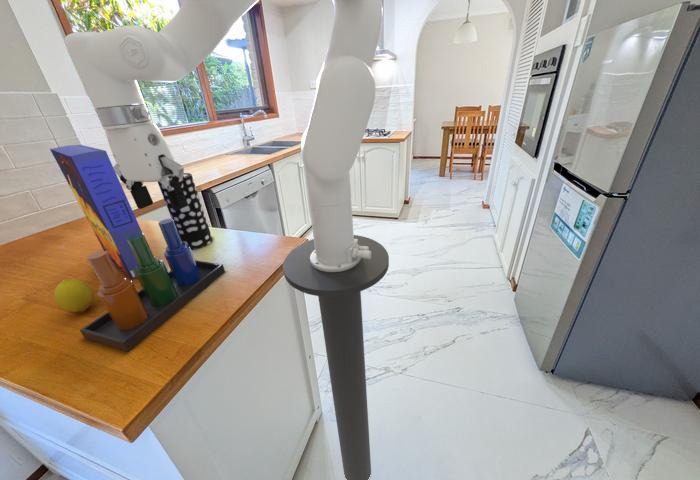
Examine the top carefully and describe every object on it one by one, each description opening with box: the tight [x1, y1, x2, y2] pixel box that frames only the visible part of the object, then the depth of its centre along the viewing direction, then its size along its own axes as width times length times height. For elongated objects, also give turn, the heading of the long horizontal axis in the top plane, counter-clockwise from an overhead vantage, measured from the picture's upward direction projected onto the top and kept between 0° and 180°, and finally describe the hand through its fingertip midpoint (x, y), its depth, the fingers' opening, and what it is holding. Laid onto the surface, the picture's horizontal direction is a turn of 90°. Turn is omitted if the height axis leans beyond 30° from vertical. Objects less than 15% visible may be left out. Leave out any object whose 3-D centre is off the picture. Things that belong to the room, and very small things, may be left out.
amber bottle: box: [86, 250, 149, 331], centre depth 53 cm, size 5×5×15 cm
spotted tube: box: [157, 172, 213, 250], centre depth 82 cm, size 8×8×20 cm
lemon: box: [53, 278, 95, 313], centre depth 59 cm, size 6×6×8 cm
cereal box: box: [49, 144, 143, 280], centre depth 72 cm, size 22×6×30 cm, turn 51°
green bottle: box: [127, 232, 177, 306], centre depth 59 cm, size 5×5×15 cm
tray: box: [79, 259, 226, 353], centre depth 62 cm, size 11×25×2 cm, turn 161°
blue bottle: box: [157, 218, 201, 286], centre depth 64 cm, size 5×5×15 cm
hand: (163, 207), depth 60 cm, fingers open, 9 cm apart
